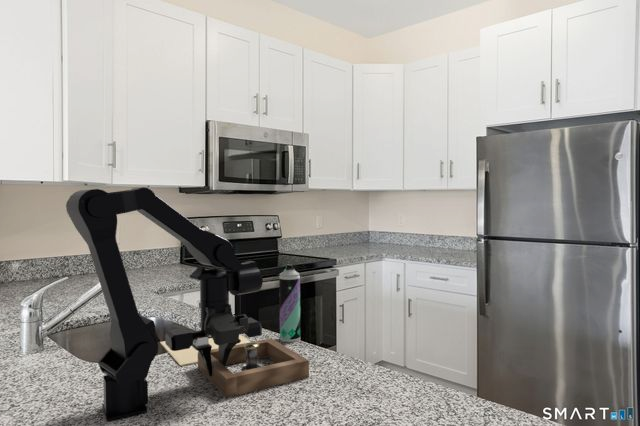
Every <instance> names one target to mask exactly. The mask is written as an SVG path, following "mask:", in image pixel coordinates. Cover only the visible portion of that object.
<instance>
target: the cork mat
mask: <svg viewBox="0 0 640 426" xmlns="http://www.w3.org/2000/svg"><path fill="white" fill-rule="evenodd" d="M239 339H240V340H241V342H240V343H237V344H236V345H239V344H244V343H249V342H252V341H251V340H250V339H248V338H246V337H244V335H242V334H239ZM159 343H160V345H161V346H162V347H163V348H164V349H165V350H166V352H167V353H168V354H169V355H170V356H171V357H172V359H174V361H175V362H176V363H177V364H178V365H179V366H180V367H185V366H189V365H193V364H198V352H199V351H198V350H196V349H194V348H193V347H192V346H191V347H190V348H189V349H183V350H178V351H172V350H171V349H170V348H169V347H168V346H167V345H166V344H165V340H164V341H160V342H159ZM208 344H210V345H211V346H212V348H211V350H212V349H217V348H219V346H218V345H216V344H215V343H214V340H213V338H209V339H208Z"/></svg>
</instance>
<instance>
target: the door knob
mask: <svg viewBox="0 0 640 426" xmlns="http://www.w3.org/2000/svg"><path fill="white" fill-rule="evenodd" d="M257 348H259V343H256V342H255V341H251V342H249V343H245V344H244V349H246V361H245V366H243V367H242V368H241V369H240V372H241V371H245V370H250V369H254V368H259V367H262V366H261V365H259V364H258V359H257Z"/></svg>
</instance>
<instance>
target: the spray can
mask: <svg viewBox="0 0 640 426" xmlns="http://www.w3.org/2000/svg"><path fill="white" fill-rule="evenodd" d="M295 269H296V268H295V267H294V266H293V265H292V264H286V265H285V269H284V270H283V271H282V272H281V273H280V272H279V276H278V281H279V282H278V283H279V284H278V285H279V340H280V342H284V343H296V342H299V341H301V276H300V272H298V271H296V270H295ZM297 340H298V341H297Z"/></svg>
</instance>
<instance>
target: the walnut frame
mask: <svg viewBox="0 0 640 426" xmlns="http://www.w3.org/2000/svg"><path fill="white" fill-rule="evenodd" d="M254 342H256V343H259V348H257V360H258V359H263V358H269V359H270V360H272V361H273V362H275V363H273V364H268V365H265V366H261V367H259V368H254V369H250V370H245V371H241V370H240V371H237V372H232V371H231V370H230V369H228V367H227V366H229V365H234V364H238V363H243V362H246V349H244V344H245V343H244V344H239V345H235V346H234V347H233V348H232V350H231V352H230V354H229V357H228V360H227V363H226V366H224V365H223V364H221V363H220V362H219V348H217V349H212V350H211V362H212V376H209V375H208V372H207V370H206V367H205V365H204V362H203V360H202V358H201V355H200V353H199V352H198V363H197V368H198V370H199V371H200V372H201V373H202V374H203V375H204V376H205V377H206V378H207V379H208V380H209V381H210V382H211V383H212V384H213V385H214V387H216V388H217V390H219V391H220V392H221V393H222V394H223V396H225V397H226V398H229V397H233V396H238V395H242V394H245V393H246V394H247V393H251V392H253V391H257V390H258V391H259V390H262V389H265V388H269V387H273V386H274V387H275V386H278V385H282V384H286V383H290V382H294V381H297V380H302V379H306V377H307V378H309V377H310V360H309V359H307V358H306V357H304V356H303V355H300V353H297V352H295V351H294V350H292V349H290V348H289V347H286V346H285V345H283V344H282V343H280V342H278V341H276V340H274V339H273V338H267V339H260V340H256V341H254Z"/></svg>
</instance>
